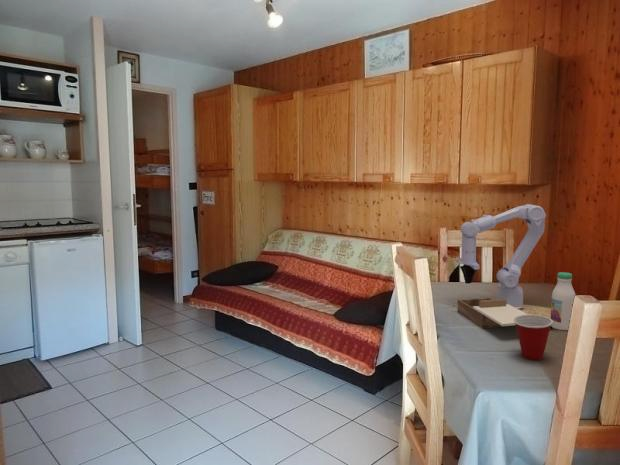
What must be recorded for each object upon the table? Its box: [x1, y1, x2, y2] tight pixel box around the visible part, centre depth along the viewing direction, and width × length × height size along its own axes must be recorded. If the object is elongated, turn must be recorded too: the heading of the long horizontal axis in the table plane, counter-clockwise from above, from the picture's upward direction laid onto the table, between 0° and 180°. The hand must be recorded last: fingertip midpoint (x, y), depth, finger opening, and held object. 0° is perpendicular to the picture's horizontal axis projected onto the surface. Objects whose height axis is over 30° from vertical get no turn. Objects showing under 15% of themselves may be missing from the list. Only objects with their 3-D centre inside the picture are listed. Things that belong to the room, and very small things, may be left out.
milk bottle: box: [550, 271, 576, 331], centre depth 160 cm, size 8×8×20 cm
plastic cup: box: [514, 313, 553, 361], centre depth 137 cm, size 11×11×12 cm
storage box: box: [457, 297, 517, 329], centre depth 174 cm, size 14×20×5 cm
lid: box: [473, 298, 529, 327], centre depth 160 cm, size 14×20×3 cm
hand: (468, 283), depth 187 cm, fingers closed
